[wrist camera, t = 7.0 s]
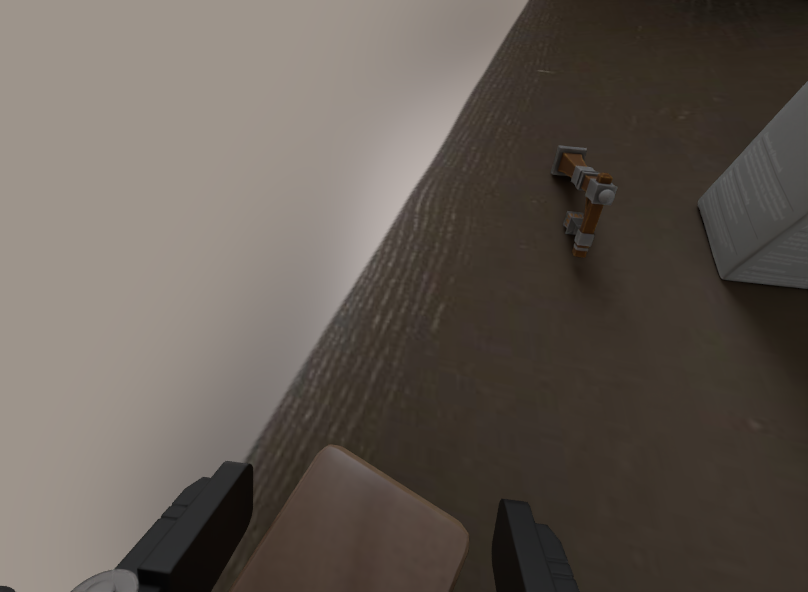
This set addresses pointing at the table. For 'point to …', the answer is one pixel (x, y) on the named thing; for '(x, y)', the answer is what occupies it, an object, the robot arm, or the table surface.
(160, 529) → the robot arm
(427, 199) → the table surface
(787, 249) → the cosmetic box
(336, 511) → the wooden block
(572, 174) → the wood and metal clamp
